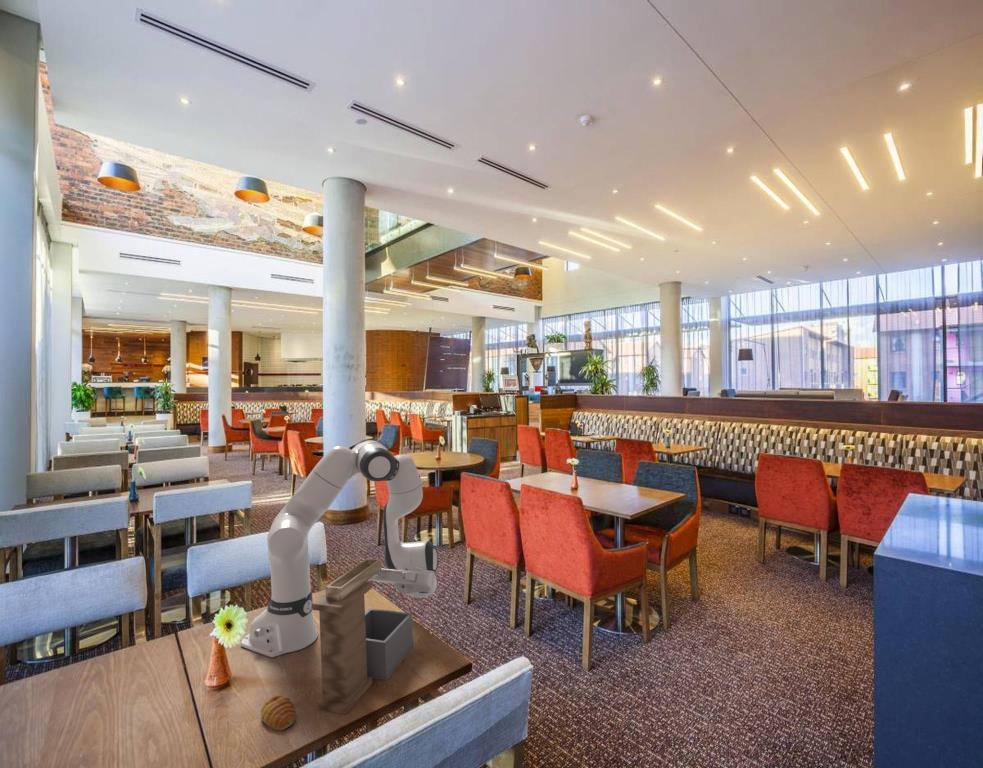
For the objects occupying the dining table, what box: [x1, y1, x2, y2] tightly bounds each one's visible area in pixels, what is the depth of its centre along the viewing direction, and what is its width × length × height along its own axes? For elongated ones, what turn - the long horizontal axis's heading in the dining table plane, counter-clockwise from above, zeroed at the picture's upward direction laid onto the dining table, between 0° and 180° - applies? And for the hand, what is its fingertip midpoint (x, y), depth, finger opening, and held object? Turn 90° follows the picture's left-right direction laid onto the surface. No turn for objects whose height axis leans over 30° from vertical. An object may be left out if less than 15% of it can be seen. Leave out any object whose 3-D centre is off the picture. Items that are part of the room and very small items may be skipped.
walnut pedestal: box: [312, 581, 373, 715], centre depth 122 cm, size 8×14×26 cm, turn 163°
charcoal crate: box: [365, 608, 414, 681], centre depth 136 cm, size 14×16×10 cm
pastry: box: [260, 694, 296, 731], centre depth 113 cm, size 9×7×4 cm
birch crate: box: [325, 557, 382, 601], centre depth 127 cm, size 4×19×3 cm, turn 163°
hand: (390, 573), depth 144 cm, fingers open, 8 cm apart
